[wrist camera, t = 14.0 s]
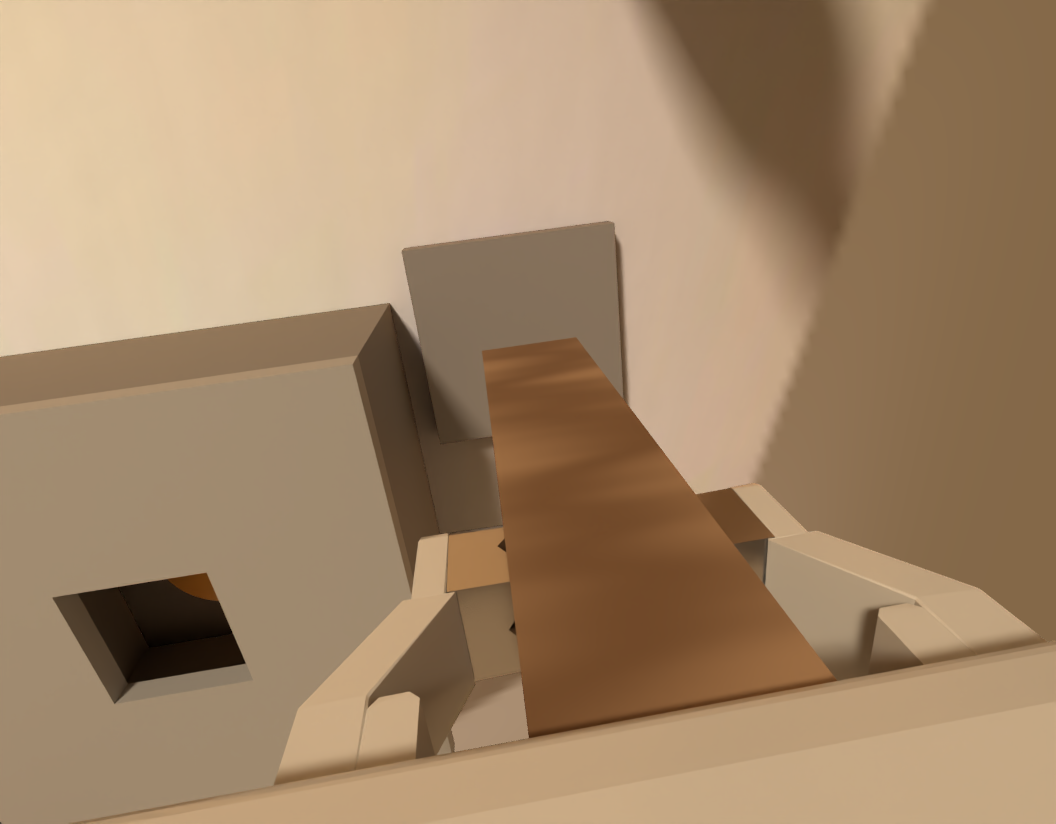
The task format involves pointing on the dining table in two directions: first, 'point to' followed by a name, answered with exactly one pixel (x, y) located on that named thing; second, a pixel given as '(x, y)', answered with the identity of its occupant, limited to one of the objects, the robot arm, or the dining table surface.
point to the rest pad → (509, 310)
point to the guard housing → (194, 550)
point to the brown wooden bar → (619, 559)
